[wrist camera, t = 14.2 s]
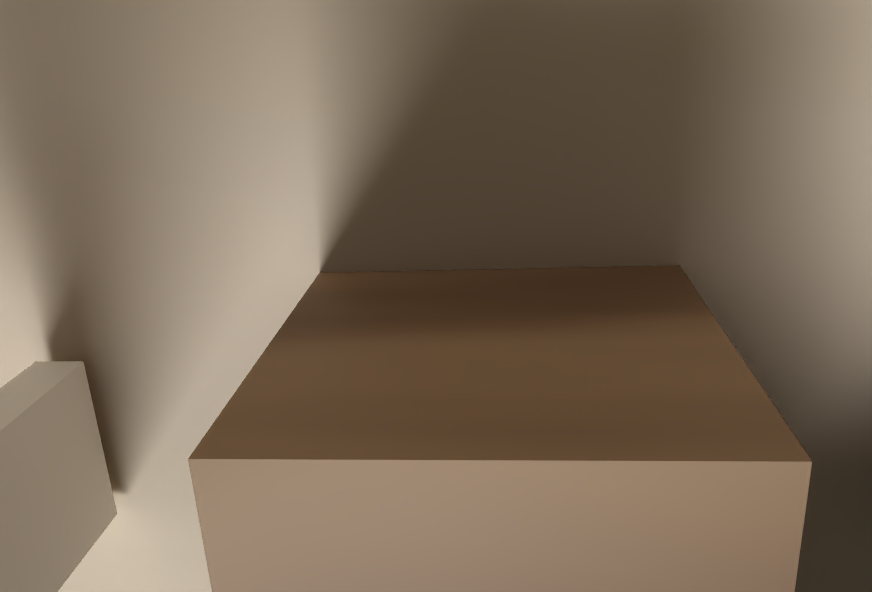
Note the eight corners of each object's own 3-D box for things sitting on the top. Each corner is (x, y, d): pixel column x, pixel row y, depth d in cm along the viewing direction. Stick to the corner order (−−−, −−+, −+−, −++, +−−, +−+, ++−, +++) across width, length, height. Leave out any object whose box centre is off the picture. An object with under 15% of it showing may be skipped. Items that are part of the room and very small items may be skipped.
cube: (321, 270, 11) (188, 459, 6) (678, 263, 11) (812, 461, 6) (350, 556, 13) (262, 869, 8) (659, 561, 12) (753, 898, 8)
